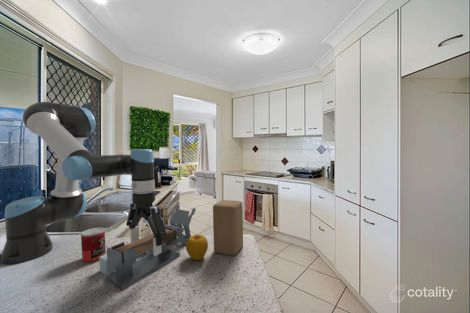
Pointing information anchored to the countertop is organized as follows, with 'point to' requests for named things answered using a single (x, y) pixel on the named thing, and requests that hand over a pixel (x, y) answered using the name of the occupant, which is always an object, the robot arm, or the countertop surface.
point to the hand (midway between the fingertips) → (145, 249)
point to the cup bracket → (139, 262)
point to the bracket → (181, 219)
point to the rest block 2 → (149, 250)
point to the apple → (197, 247)
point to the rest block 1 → (106, 265)
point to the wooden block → (228, 227)
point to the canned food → (93, 244)
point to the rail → (141, 244)
